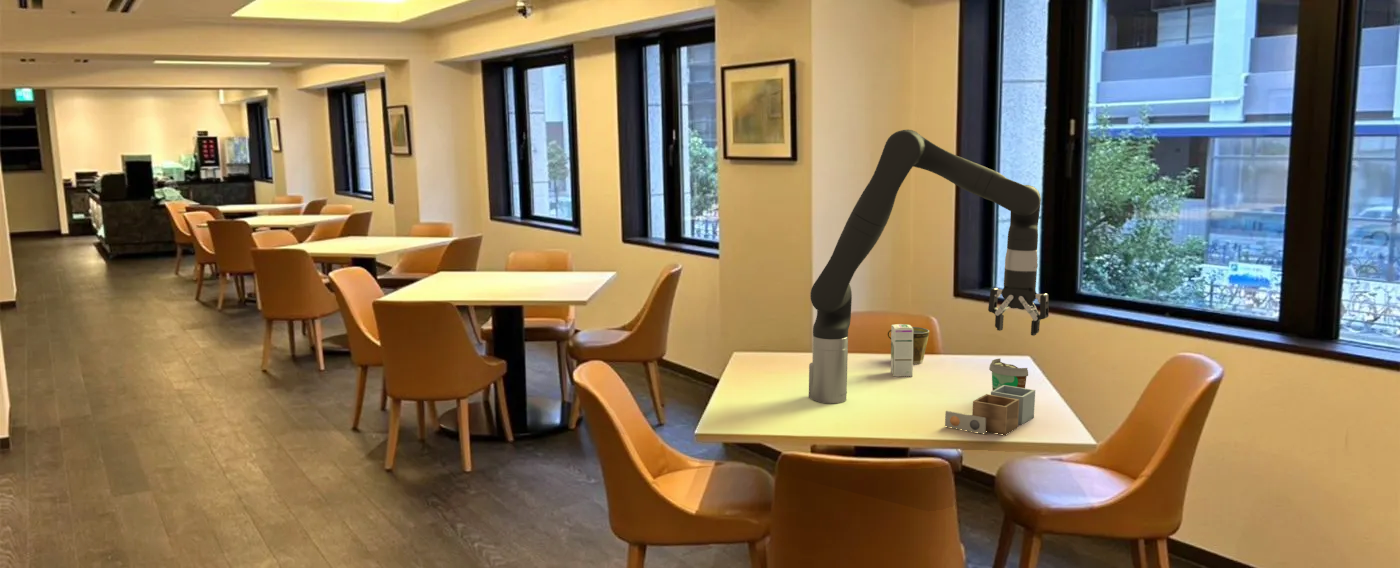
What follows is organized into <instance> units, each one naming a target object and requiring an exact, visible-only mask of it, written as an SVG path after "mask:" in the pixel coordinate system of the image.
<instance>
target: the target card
mask: <svg viewBox="0 0 1400 568" xmlns="http://www.w3.org/2000/svg"><path fill="white" fill-rule="evenodd" d="M944 419H945V421H944V427H945V426H947V427H952V428H957V429H962V430H961V431H963V430H967V431H966V432H968V431H972V432H971V433H973V432H978V433H982V434H981V435H983V433H984V434H985V433H987V432H986V418H984V417H979V416H973V415H972V414H968V413H962V412H956V411H951V410H945V418H944ZM947 427H946V428H947ZM952 428H951V429H952ZM957 429H956V430H957ZM978 433H977V434H978ZM985 435H986V434H985Z"/></svg>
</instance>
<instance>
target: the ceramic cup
mask: <svg viewBox="0 0 1400 568" xmlns="http://www.w3.org/2000/svg"><path fill="white" fill-rule="evenodd" d="M911 327H912V328H913V365H920V364H922V363H923V362H924V358H925V353H926V349H927V344H928V339H929V335H930V330H929V329H927V328H924V327H917V326H911ZM890 333H891V329H890V330H888V332H887V337H888V338H889V339H890V340H891V335H890Z"/></svg>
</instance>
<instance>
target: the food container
mask: <svg viewBox="0 0 1400 568" xmlns="http://www.w3.org/2000/svg"><path fill="white" fill-rule="evenodd" d="M988 368H989V369H988V370H989V371H990V372H991V385H992V386H991V387H992V390H991V391H993V390H995V389H997V388H999V387H1001V386H1002V385H1007V386H1013V387H1019V388H1026V383H1027V377H1029V370H1028V367H1017V365H1014V364H1009V363H1005V362H1002V361H1001V358H995V359H993V360H991V362H990V364H989V367H988Z"/></svg>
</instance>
